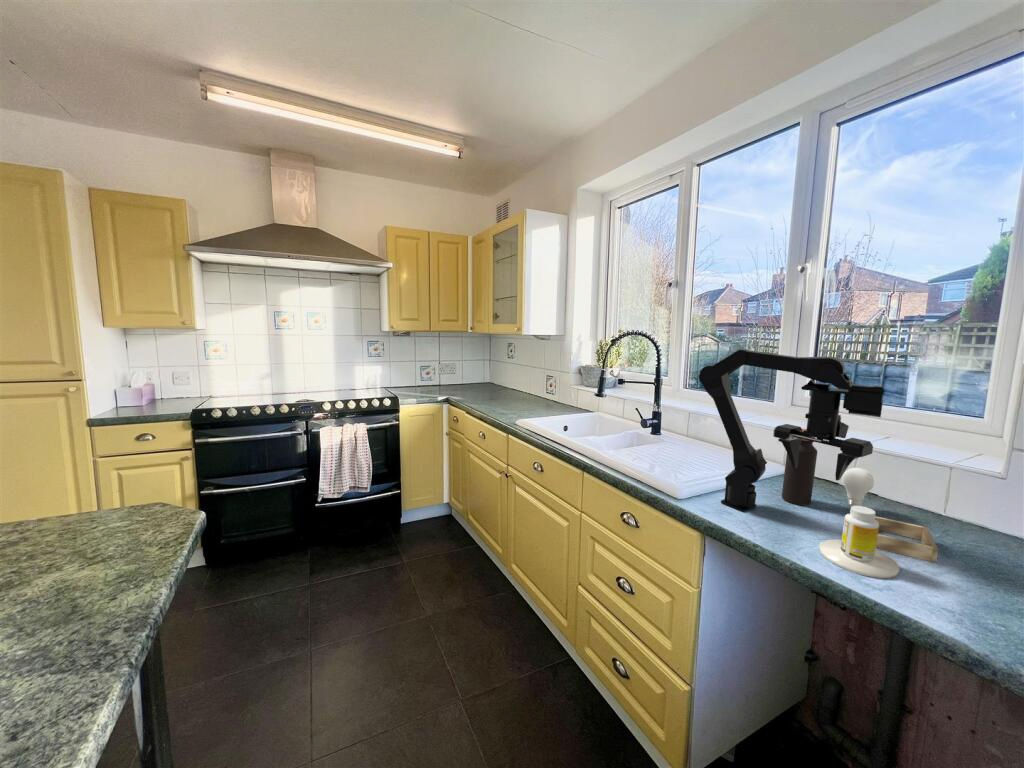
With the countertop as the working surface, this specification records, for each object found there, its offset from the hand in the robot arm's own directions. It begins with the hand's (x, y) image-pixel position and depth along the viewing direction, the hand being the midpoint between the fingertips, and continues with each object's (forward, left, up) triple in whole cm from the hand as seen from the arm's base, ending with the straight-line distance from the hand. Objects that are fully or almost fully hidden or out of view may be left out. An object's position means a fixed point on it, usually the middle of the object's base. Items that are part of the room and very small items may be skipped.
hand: (815, 473), depth 102 cm
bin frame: (+14, +8, -13) cm, 21 cm away
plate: (+13, -8, -13) cm, 20 cm away
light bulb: (+1, +21, -13) cm, 25 cm away
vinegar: (-9, +12, -13) cm, 20 cm away
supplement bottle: (+13, -8, -12) cm, 20 cm away
